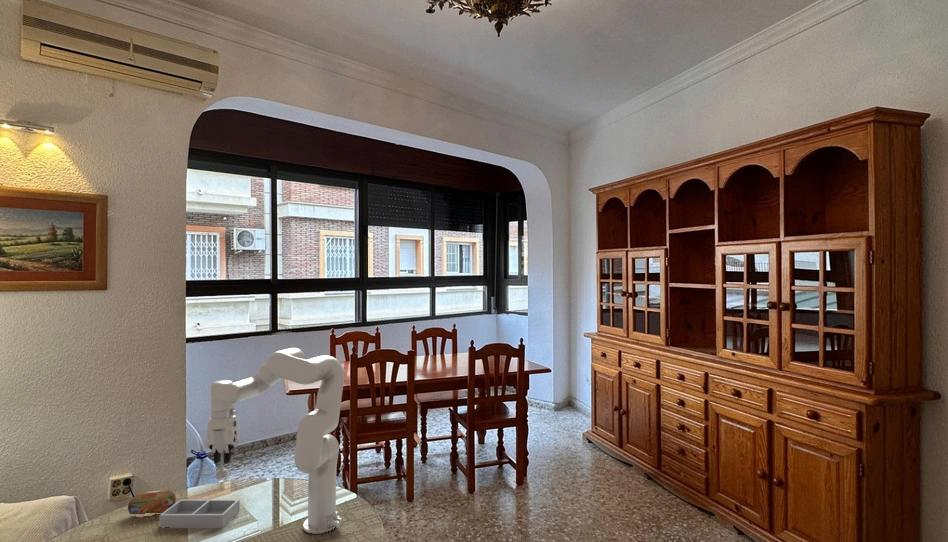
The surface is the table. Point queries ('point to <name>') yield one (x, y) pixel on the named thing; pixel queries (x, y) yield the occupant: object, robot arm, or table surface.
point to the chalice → (221, 449)
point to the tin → (152, 502)
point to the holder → (200, 513)
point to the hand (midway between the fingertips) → (222, 461)
